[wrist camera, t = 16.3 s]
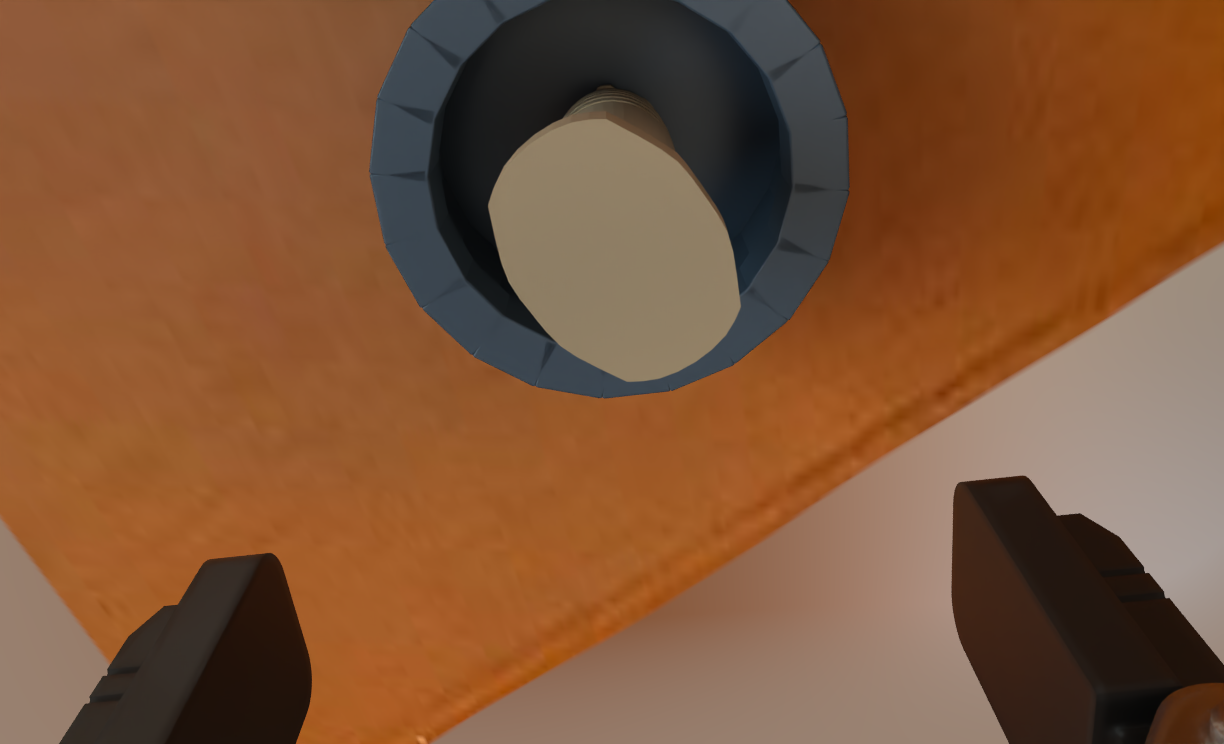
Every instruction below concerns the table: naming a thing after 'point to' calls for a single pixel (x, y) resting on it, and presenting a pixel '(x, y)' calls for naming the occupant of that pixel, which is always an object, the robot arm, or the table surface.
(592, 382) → the jar
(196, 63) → the table surface
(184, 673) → the robot arm
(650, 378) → the handle
